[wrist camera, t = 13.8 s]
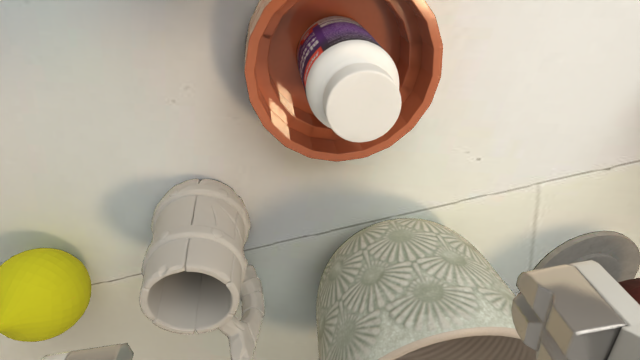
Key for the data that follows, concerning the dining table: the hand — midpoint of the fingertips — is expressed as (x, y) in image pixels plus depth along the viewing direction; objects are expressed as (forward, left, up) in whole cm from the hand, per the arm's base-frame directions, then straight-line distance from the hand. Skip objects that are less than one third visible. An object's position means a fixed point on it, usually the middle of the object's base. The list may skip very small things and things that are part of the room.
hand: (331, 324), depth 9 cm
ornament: (+17, -21, -25) cm, 37 cm away
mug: (+16, -7, -25) cm, 30 cm away
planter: (+23, +8, -25) cm, 34 cm away
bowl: (+2, +4, -25) cm, 25 cm away
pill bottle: (+2, +4, -24) cm, 25 cm away
